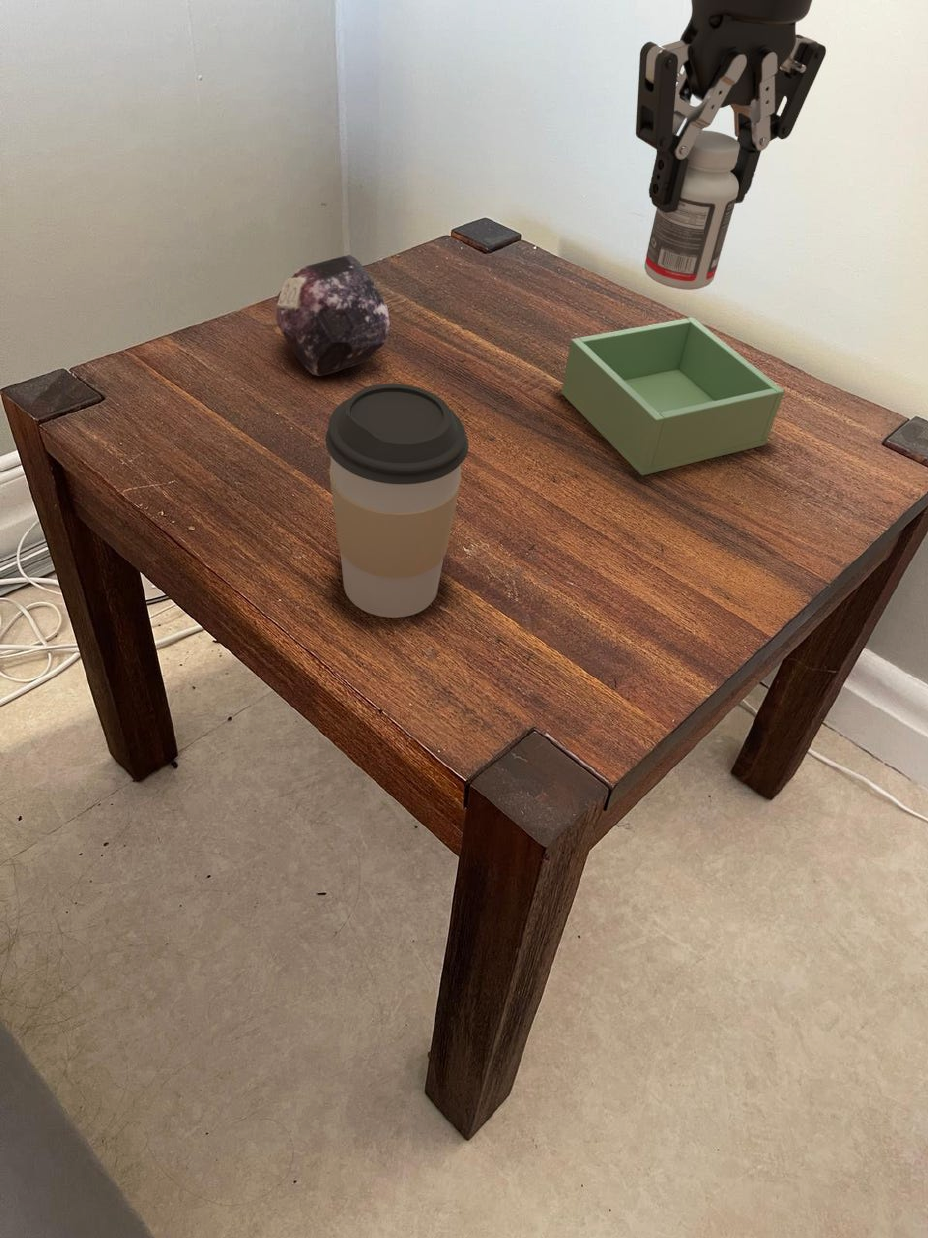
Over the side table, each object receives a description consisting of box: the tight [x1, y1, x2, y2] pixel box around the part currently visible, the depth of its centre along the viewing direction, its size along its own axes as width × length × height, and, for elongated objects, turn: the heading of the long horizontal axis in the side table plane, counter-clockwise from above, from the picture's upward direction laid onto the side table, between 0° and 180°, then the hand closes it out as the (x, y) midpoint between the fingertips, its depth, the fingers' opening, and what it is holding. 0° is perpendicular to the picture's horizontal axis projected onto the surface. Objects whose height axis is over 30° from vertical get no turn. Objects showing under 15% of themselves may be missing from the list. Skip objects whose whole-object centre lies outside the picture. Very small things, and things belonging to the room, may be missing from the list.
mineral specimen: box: [275, 254, 390, 377], centre depth 88 cm, size 10×10×10 cm
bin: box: [560, 316, 786, 476], centre depth 87 cm, size 14×14×6 cm
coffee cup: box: [324, 383, 469, 619], centre depth 65 cm, size 9×9×15 cm
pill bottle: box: [643, 129, 740, 291], centre depth 70 cm, size 5×5×10 cm
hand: (697, 202), depth 70 cm, fingers closed on pill bottle, 5 cm apart
